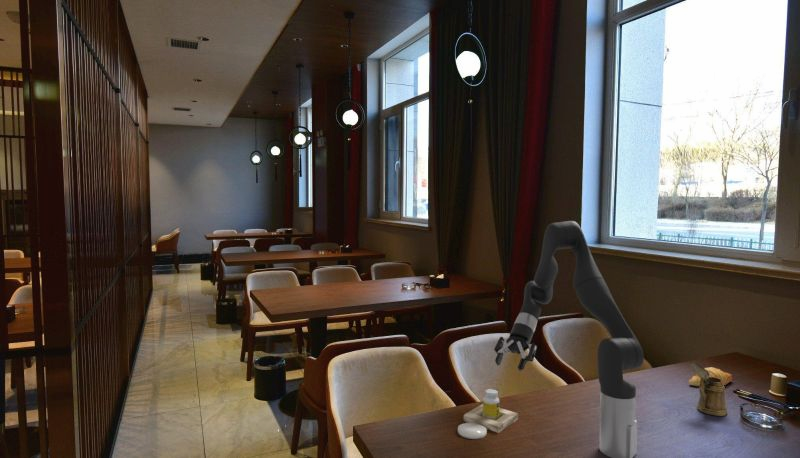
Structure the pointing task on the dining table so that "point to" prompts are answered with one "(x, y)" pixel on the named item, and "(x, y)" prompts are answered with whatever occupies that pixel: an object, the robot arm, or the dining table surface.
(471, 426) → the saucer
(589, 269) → the robot arm
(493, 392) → the supplement bottle
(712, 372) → the croissant
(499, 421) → the square wooden frame
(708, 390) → the wooden mug
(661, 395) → the dining table surface
